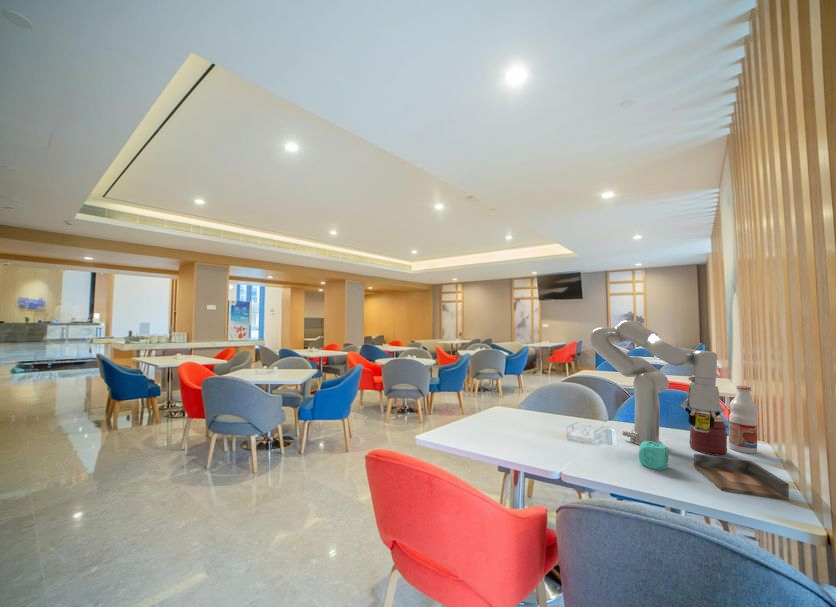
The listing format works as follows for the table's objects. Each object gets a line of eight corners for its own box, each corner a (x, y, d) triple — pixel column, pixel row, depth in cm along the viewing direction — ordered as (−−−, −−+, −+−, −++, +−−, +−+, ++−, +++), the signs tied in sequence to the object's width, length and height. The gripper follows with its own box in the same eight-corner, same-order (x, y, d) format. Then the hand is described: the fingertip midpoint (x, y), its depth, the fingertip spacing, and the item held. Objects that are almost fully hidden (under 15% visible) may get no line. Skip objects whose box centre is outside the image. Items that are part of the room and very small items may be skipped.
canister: (733, 458, 152) (734, 415, 152) (695, 452, 156) (696, 411, 156) (718, 447, 164) (719, 408, 165) (684, 443, 168) (685, 404, 169)
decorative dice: (668, 466, 139) (668, 445, 139) (663, 472, 134) (663, 450, 134) (644, 460, 145) (644, 439, 145) (638, 465, 139) (638, 443, 140)
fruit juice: (735, 445, 168) (736, 384, 169) (761, 452, 160) (762, 388, 161) (723, 447, 165) (725, 384, 166) (749, 455, 156) (750, 389, 157)
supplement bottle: (695, 431, 147) (697, 406, 147) (689, 427, 152) (691, 402, 152) (712, 433, 145) (713, 408, 145) (705, 429, 151) (707, 404, 151)
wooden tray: (721, 490, 121) (721, 474, 121) (693, 466, 140) (693, 453, 140) (788, 500, 116) (788, 484, 116) (750, 474, 135) (750, 460, 135)
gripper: (683, 380, 148) (680, 425, 147) (734, 385, 143) (731, 432, 143) (675, 377, 155) (672, 420, 155) (723, 382, 150) (721, 426, 150)
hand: (700, 425), depth 149 cm, fingers closed on supplement bottle, 5 cm apart
